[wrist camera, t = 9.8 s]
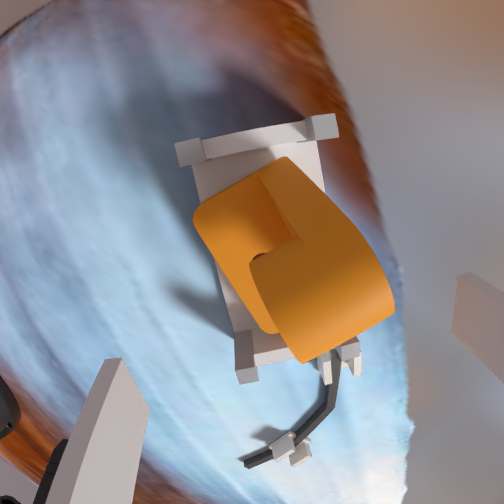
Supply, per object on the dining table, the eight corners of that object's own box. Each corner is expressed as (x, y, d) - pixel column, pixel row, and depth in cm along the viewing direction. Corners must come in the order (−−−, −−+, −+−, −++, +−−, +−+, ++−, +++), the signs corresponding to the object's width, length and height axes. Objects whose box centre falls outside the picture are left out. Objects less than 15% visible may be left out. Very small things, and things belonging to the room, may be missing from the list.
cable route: (242, 462, 32) (243, 478, 30) (324, 322, 26) (333, 339, 24) (287, 467, 33) (290, 482, 31) (380, 336, 27) (391, 351, 25)
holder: (237, 341, 26) (239, 384, 21) (188, 145, 21) (174, 143, 16) (337, 319, 26) (359, 356, 21) (310, 122, 21) (334, 113, 16)
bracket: (192, 206, 22) (150, 266, 10) (280, 156, 21) (337, 160, 10) (263, 320, 25) (286, 435, 14) (342, 277, 24) (415, 369, 13)
